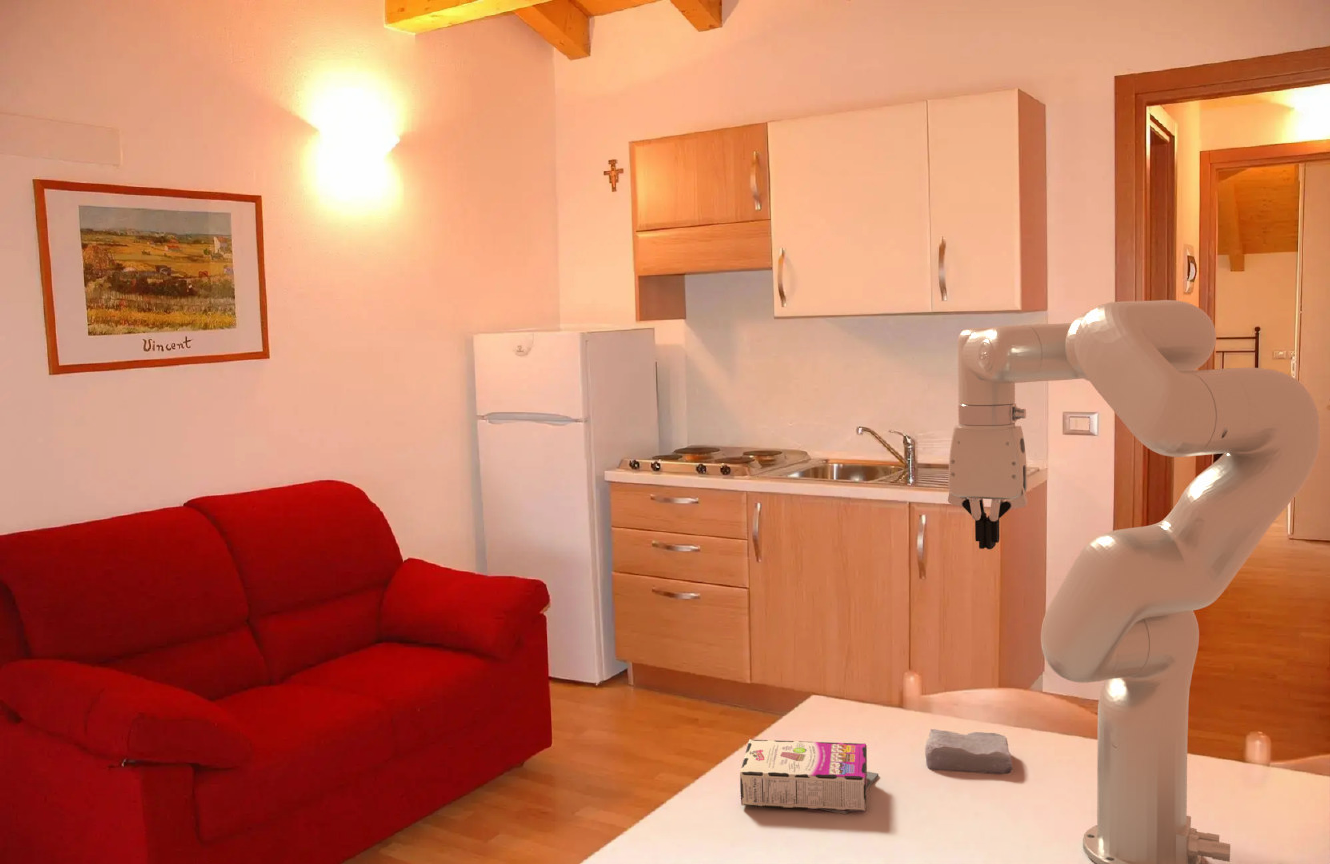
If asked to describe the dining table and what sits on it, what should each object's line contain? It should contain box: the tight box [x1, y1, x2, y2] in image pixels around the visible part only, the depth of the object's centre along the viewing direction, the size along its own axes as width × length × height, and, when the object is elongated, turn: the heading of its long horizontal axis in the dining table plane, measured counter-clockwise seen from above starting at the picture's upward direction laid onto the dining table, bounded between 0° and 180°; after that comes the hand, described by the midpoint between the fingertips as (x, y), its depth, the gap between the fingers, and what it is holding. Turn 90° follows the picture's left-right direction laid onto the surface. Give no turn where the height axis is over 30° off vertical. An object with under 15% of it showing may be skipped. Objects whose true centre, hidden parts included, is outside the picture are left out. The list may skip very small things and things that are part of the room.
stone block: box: [924, 728, 1013, 775], centre depth 155 cm, size 12×5×10 cm
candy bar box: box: [739, 738, 868, 812], centre depth 145 cm, size 11×5×16 cm
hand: (987, 547), depth 151 cm, fingers closed
